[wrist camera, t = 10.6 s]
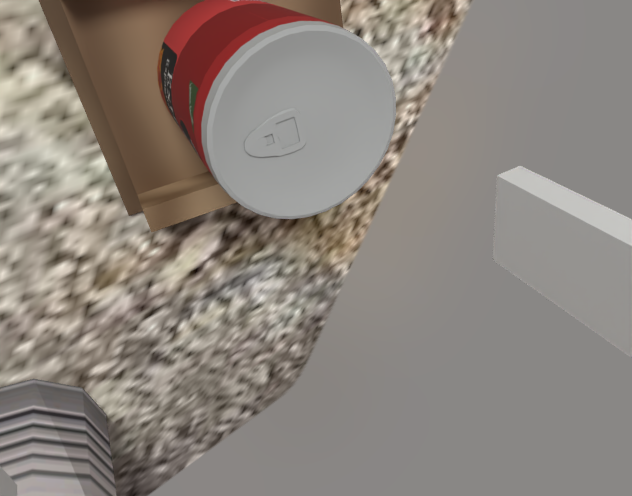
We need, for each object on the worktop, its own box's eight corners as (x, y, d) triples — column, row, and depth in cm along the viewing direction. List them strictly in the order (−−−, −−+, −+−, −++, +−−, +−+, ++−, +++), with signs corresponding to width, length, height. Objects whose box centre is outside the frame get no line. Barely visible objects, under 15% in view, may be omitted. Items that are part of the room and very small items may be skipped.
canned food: (121, 48, 26) (161, 107, 17) (253, -41, 27) (354, -25, 18) (207, 165, 31) (271, 256, 22) (317, 88, 31) (421, 148, 23)
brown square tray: (127, 211, 34) (141, 256, 30) (9, -71, 25) (2, -71, 21) (344, 139, 38) (386, 168, 34) (310, -126, 29) (362, -136, 25)
